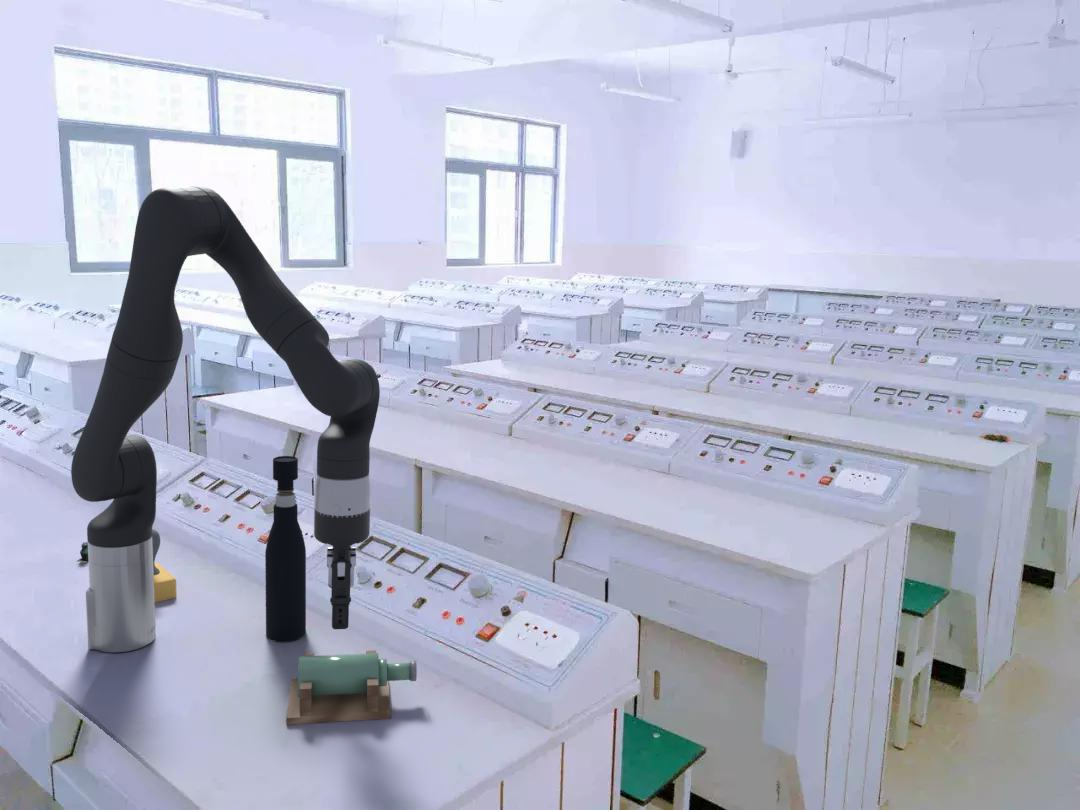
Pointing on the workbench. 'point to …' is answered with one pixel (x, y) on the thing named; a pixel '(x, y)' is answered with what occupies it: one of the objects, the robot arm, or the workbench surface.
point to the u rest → (337, 704)
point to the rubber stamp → (161, 575)
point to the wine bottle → (285, 560)
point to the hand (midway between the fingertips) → (340, 614)
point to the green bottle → (350, 673)
